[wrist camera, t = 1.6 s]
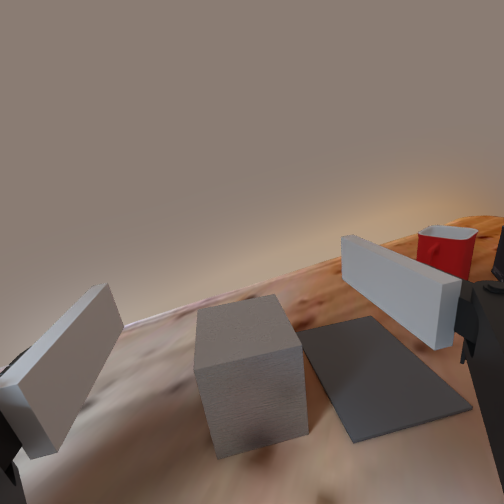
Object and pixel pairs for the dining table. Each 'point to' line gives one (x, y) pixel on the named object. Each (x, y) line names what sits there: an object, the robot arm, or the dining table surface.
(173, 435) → the dining table surface
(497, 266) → the small box
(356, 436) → the charcoal mat
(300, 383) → the steel cover
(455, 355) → the dining table surface
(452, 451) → the dining table surface
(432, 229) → the mug
